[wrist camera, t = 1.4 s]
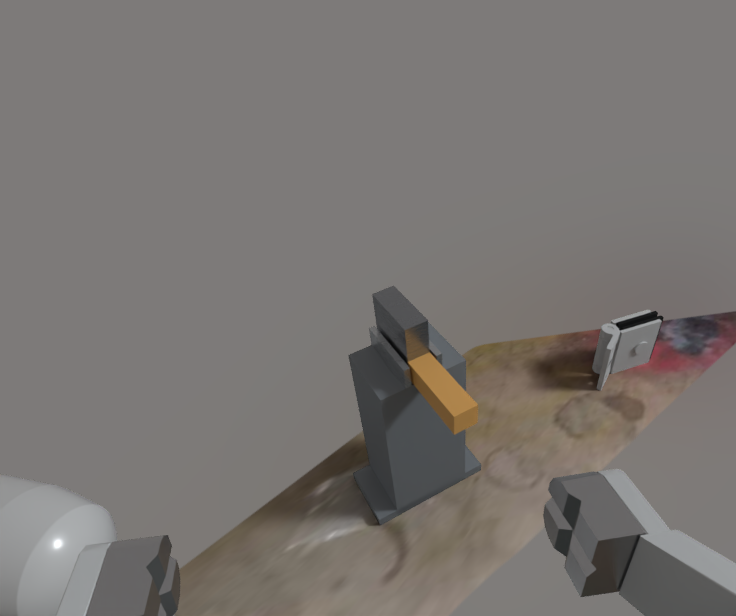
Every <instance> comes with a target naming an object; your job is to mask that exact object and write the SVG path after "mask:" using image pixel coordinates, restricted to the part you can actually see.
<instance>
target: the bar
mask: <svg viewBox="0 0 736 616" xmlns="http://www.w3.org/2000/svg"><path fill="white" fill-rule="evenodd" d="M373 303H374V310H375V316H376V324H377V329H378V331H379V332H380V333H381V334H382V335H383V337H384V338H385V339H386V340H387V341H388V343H389V344H390V345H391V346H392V347H393V349H394V350H395V351H396V352H397V353H398V355H399V356H400V357H401V358H402V359H403V361H404V362H405V363H406V364H407V365H408V367H409V368H410V374H411V382H412V383H413V385H414V386H415V387H416V388H417V390H418V391H419V392H420V393H421V394H422V396H423V397H424V398H425V399H426V401H427V402H428V403H429V404H430V406H431V407H432V408H433V409H434V410H435V412H436V413H437V414H438V415H439V417H440V418H441V419H442V420H443V422H444V423H445V424H446V425H447V427H448V428H449V429H450V430H451V431H452V433H453V434H454V435H455V434H457V433H459V432H461V431H463V430H465V429H467V428H469V427H471V426H473V425H474V424H476V423H477V421H478V404H477V403H476V402H475V401H474V400H473V399H472V398H471V397H470V396H469V395H468V393H467V392H466V391H465V390H464V389H463V388H462V387H461V386H460V385H459V384H458V383H457V381H456V380H455V379H454V378H453V377H452V376H451V375H450V374H449V373H448V372H447V371H446V369H445V368H444V367H443V366H442V365H441V364H440V363H439V362H438V361H437V360H436V359H435V357H434V356H433V355H432V354H431V353H430V349H429V331H428V320H427V319H426V318H425V317H424V316H423V315H422V314H421V313H420V312H419V311H418V310H417V309H416V308H415V307H414V306H413V305H412V304H411V303H410V302H409V301H408V300H407V299H406V298H405V297H404V296H403V295H402V294H401V293H400V292H399V291H398V290H397V289H396V288H395V287H394V286H392V287H389V288H387V289H384V290H382V291H379V292H377V293H374V294H373Z"/></svg>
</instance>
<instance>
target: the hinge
mask: <svg viewBox="0 0 736 616" xmlns="http://www.w3.org/2000/svg"><path fill="white" fill-rule="evenodd" d="M657 314H658V313H657V312H656V311H654V312H651V311H650V310H645V311H642V312H639V313H635V314H632V315H628V316H625V317H621V318H618V319H615V320H611V323H609V324H604V325H602V327H601V332H600V335H599V340H598V345H597V349H596V353H595V358H594V362H593V366H592V370H593V371H594V372H595V373H597V374H600V376H599V380H598V384H597V388H596V389H598V390H600V391H601V390H602V387H603V385H604V383H605V381H606V379H607V377H608V375H609V373H611V374H613V373H616V372H619V371H622V370H625V369H628V368H632V367H635V366H638V365H641V364H644V363H648V362H649V359H650V358H651V355H652V352H653V349H654V345H655V342H656V339H657V336H658V333H659V330H660V327H661V324H662V321H663V317H662V316H658V317H657Z"/></svg>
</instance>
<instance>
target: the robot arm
mask: <svg viewBox="0 0 736 616" xmlns="http://www.w3.org/2000/svg"><path fill="white" fill-rule="evenodd" d="M548 490H549V492H550V494H551V496H552V498H551V499H550V500H549V501H548V502H547V503H546V504H545V508H544V514H543V516H544V523H545V528H546V531H547V534H548V537H549V539H550V541H551V543H552V545H553V547H554V548H555V549H556V550H557V551H559V552H560V553H562V554H563V555H564V556H566V561H565V569H566V571H567V573H568V575H569V577H570V579H571V580H572V582H573V584H574V586H575V588H576V590H577V591H578V593H579V595H580V597H585V596H592V595H599V594H606V593H613V592H619V591H620V592H619V594H620V595H621V596H622V597H623V598H624V599H626V600H627V601H628V602H629V603H630V604H631V605H633V606H634V607H635V608H636V609H637V610H639V611H640V612H641V613H642V614H644V615H645V616H736V563H734V562H732V561H731V560H729V559H727V558H726V557H724V556H722V555H720V554H719V553H717V552H715V551H713V550H712V549H710V548H708V547H707V546H705V545H703V544H701V543H700V542H698V541H696V540H694V539H693V538H691V537H689V536H687V535H686V534H684V533H682V532H680V531H679V530H670V529H669V528H668V526H666V524H665V523H664V521H663V520H662V519H661V518H660V516H659V515H658V514H657V513H656V511H655V510H654V509H653V508H652V506H651V505H650V504H649V503H648V501H647V500H646V499H645V497H644V496H643V495H642V494H641V492H640V491H639V490H638V489H637V487H636V486H635V485H634V484H633V483H632V481H631V480H630V479H629V478H628V476H627V475H626V474H625V472H623V471H622V470H620V469H612V470H605V471H598V472H588V473H582V474H576V475H570V476H563V477H557V478H553V480H552V481H551V482H550V485H549V489H548ZM171 547H172V545H171V542H170V540H169V537H168V535H165V536H156V537H148V538H140V539H131V540H124V541H123V540H122V541H117V533H116V527H115V523H114V520H113V518H112V516H111V514H110V513H109V512H108V511H107V510H106V509H105V508H104V507H102V506H100V505H98V504H97V503H95V502H93V501H91V500H89V499H87V498H85V497H83V496H81V495H79V494H77V493H75V492H73V491H71V490H68V489H66V488H64V487H61V486H58V485H54V484H49V483H44V482H38V481H33V480H28V479H23V478H18V477H13V476H8V475H3V474H0V616H175V615H174V614H175V613H176V611H177V610H178V604H179V597H180V572H179V567H178V563H177V560H176V559H174V558H172V557H171V556H170V553H171Z"/></svg>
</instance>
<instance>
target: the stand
mask: <svg viewBox="0 0 736 616" xmlns="http://www.w3.org/2000/svg"><path fill="white" fill-rule="evenodd" d="M369 331H370V338H371V344H372V345H371V346H369V347H366V348H364V349H362V350H359V351H357V352H355V353H353V354H350V355H349V360H350V366H351V370H352V376H353V381H354V386H355V391H356V396H357V401H358V407H359V412H360V417H361V422H362V427H363V432H364V437H365V442H366V448H367V453H368V458H369V463H370V465H368V466H366V467H364V468H362V469H360V470H358V471H356V472H354V473H353V475H354V479H355V481H356V482H357V484H358V486H359V488H360V490H361V491H362V493H363V495H364V497H365V499H366V500H367V502H368V504H369V506H370V508H371V509H372V511H373V513H374V515H375V517H376V518H377V520H378V522H379V524H380V525H382V524H383V523H385V522H387V521H389V520H391V519H393V518H394V517H396V516H398V515H400V514H402V513H403V512H405V511H407V510H409V509H411V508H413V507H414V506H416V505H418V504H420V503H422V502H423V501H425V500H427V499H429V498H431V497H433V496H434V495H436V494H438V493H440V492H442V491H443V490H445V489H447V488H449V487H451V486H453V485H454V484H456V483H458V482H460V481H462V480H463V479H465V478H467V477H469V476H471V475H473V474H474V473H476V472H478V471H480V470H481V464H480V462H479V461H478V460H477V459H476V458H475V456H474V455H473V454H472V453H471V451H470V450H469V449H468V448H467V447H466V445H465V430H463V431H461V432H459V433H457V434H455V435H454V434H453V433H452V431H451V430H450V429H449V428H448V427H447V425H446V424H445V423H444V422H443V420H442V419H441V418H440V417H439V415H438V414H437V413H436V412H435V410H434V409H433V408H432V407H431V406H430V404H429V403H428V402H427V401H426V399H425V398H424V397H423V396H422V394H421V393H420V392H419V391H418V390H417V388H416V387H415V386H414V385H413V383H412V382H411V374H410V368H409V367H408V365H407V364H406V363H405V362H404V361H403V359H402V358H401V357H400V356H399V355H398V353H397V352H396V351H395V350H394V349H393V347H392V346H391V345H390V344H389V343H388V341H387V340H386V339H385V338H384V337H383V335H382V334H381V333H380V332H379V331H378V329H377V328H376V327H375V326H373V327H371V328H369ZM428 331H429V349H430V353H431V354H432V355H433V356H434V357H435V359H436V360H437V361H438V362H439V363H440V364H441V365H442V366H443V367H444V368H445V369H446V371H447V372H448V373H449V374H450V375H451V376H452V377H453V378H454V379H455V380H456V381H457V383H458V384H459V385H460V386H461V387H462V388H463V389H464V390H465V391H466V360H465V359H464V358H463V357H462V356H461V355H460V354H459V353H458V352H457V351H456V350H455V349H454V348H453V347H452V346H451V345H450V344H449V343H448V342H447V341H446V340H445V339H444V338H443V337H442V336H441V335H440V334H439V333H438V331H437V330H435V328H434V327H432V325H431V324H429V322H428Z"/></svg>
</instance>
